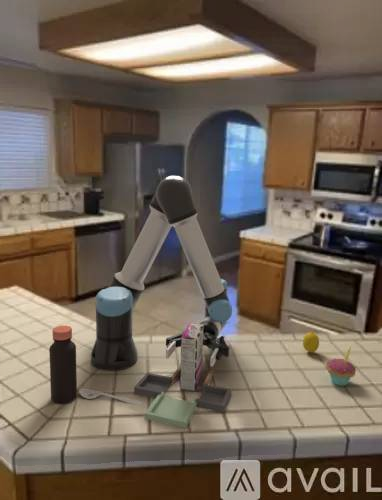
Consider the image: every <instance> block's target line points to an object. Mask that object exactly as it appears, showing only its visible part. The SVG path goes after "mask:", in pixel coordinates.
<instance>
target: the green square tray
mask: <svg viewBox="0 0 382 500" xmlns="http://www.w3.org/2000/svg"><path fill="white" fill-rule="evenodd" d="M195 399H196V398H194V399H193V401H188V400H184V399H179V398H173V397H169V396H165V394H164V392H162V393H161V394H158V396H157V397H156V398H154V400H153V401H152V403H150V406H149V407H148V408H147V410H146V411H145V412H144V419H145V420H149V421H154V422H158V423H163V424H166V425H171V426H175V427H179V428H184V429H186V428H187V427H188V424H189V422H190V421H191V419H192V417H193V415H194V413H195V411H196V409H197V408H198V407H197V402H195Z"/></svg>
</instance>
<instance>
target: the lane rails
mask: <svg viewBox="0 0 382 500" xmlns="http://www.w3.org/2000/svg"><path fill="white" fill-rule="evenodd" d="M214 373H215V370H212V369H211V370H209V372H208V373H207V376H206V377H205V380H204V381H203V383H202V385H201V387H202V388H201V390H202V391H203V385H204V384H209V385H210V382H211V381H212V379H213V377H214ZM179 376H181V364H180V365H179V366H178V367H177V369H176V370H175V371H174V373H173V374H172V376H171V377H172V384H173V385H174V383H175V381H176V380H177V379H178V378H179ZM172 384H171V385H172Z"/></svg>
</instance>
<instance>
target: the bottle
mask: <svg viewBox="0 0 382 500" xmlns="http://www.w3.org/2000/svg"><path fill="white" fill-rule="evenodd" d="M72 337H73V329H72V327H71V326H69V325H58V326H55V327H54V328H52V340H53V343H52V344H50V346H49V350H48V351H49V377H50V399H51V401H52V402H53V403H55V404H58V405H59V404H61V405H62V404H63V405H65V404H69V403H71V402H73V401H74V400H76V398H77V396H78V386H77V385H78V383H77V345H76V344H75V342H73V341H72Z"/></svg>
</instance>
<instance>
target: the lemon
mask: <svg viewBox="0 0 382 500" xmlns="http://www.w3.org/2000/svg"><path fill="white" fill-rule="evenodd" d="M319 338H320V337H319V336H318V334H316V333H315V332H313V331H310V332H307V333H306V334H305V335H304V336H303V340H302V345H303V349H304V350H305V351H307V352H308V353H309V354H311V353H315V352H316V351H317V350H318V349H319V346H320V340H319Z"/></svg>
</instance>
